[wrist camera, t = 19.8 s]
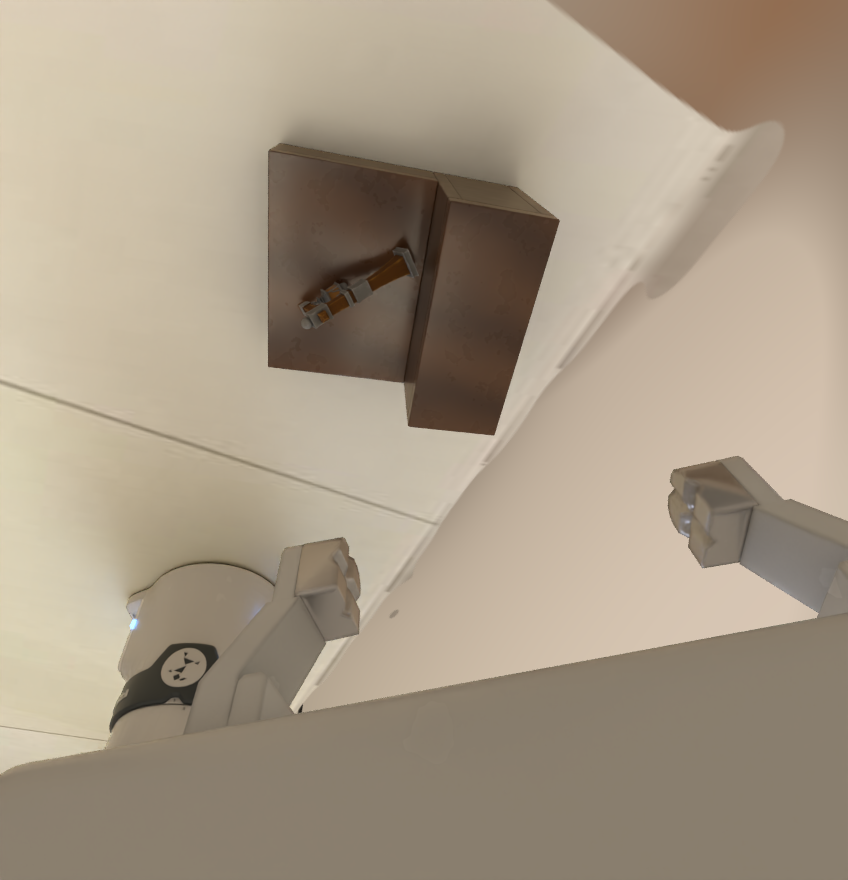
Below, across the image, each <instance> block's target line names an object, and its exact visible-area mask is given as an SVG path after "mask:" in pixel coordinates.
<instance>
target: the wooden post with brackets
mask: <svg viewBox="0 0 848 880" xmlns="http://www.w3.org/2000/svg"><path fill="white" fill-rule="evenodd" d="M392 251H393V253H394V257H393V258H392V259H391V260H390V261H389V262H387V263H386V264H385V265H384V266H382V267H381V268H380V269H379V270H377V271H376V272H375V273H374V274H372V275H371V276H369V277H368V278H366V279H362V278H361V279H360V280H359V281H358V282H356V283H355V284H353V285H351V286H349V287H348V285H347V284H346V283H341V284H340V285H339V284H338V283H336V282H334V284H333V285H332V286H331V287H329V288H328V289H326V290H323V289H320V290H321V297H320V299H319V298H318V297H316V298H317V302H311V303H310V302H308V301H302V302H301V303H299V304H297V305H298V307H299V309H300V311H301V312H302V313H303V314H304V316H306V318H303V319H302V321H301V326H302V327H303V328H304V329H310V328H311V327H314V328H316V329H317V328H318V327H319V326H321V325H322V324H324V323H326V322H327V321H329V320H331V319H334V317H333V315H335V314H337V313H338V312H340V311H342V310H343V309H345V308H347V307H351V308H352V307H353V306H355V304H354V303H356V302H357V303H360V302H361V301H362V300H364V299H365V298H367V297H368V296H370V295H373V291H375V290H377V289H378V288H380V287H382V286H384V285H386V284H388V283H390V282H392V281H394V280H396V279H398V278H400V277H403V276H408V277H412V278H414V277H416V276H419V274H418V272H417V269H416V267H415V265H414V262H413V260H412V257H411V255H410V253H409V250H408V249H404V248H399V247H396V249H395V250H392ZM322 302H323V303H322ZM325 302H326V303H325ZM312 303H314V305H311V304H312ZM318 304H319V305H318Z"/></svg>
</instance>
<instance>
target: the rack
mask: <svg viewBox="0 0 848 880" xmlns="http://www.w3.org/2000/svg"><path fill="white" fill-rule="evenodd" d="M559 222H560V221H559V219H557V218H556V217H555V216H554V215H553V214H551V213H550V212H549V211H547V210H546V209H545V208H543V207H542V206H541V205H540V204H538V203H537V202H536V201H534V200H533V199H532V198H531V197H529V196H528V195H527V194H525V193H524V192H523V191H521V190H520V189H519V188H518V187H513V186H506V185H502V184H496V183H491V182H486V181H480V180H475V179H470V178H464V177H459V176H454V175H448V174H445V175H444V174H443V173H437V172H432V171H427V170H421V169H416V168H410V167H405V166H400V165H394V164H389V163H384V162H378V161H373V160H367V159H362V158H357V157H351V156H346V155H341V154H335V153H330V152H325V151H319V150H314V149H308V148H303V147H298V146H292V145H287V144H282V143H280V144H278V145H276V146H275V147H273V148H272V149H270V150H269V151H268V367H274V368H282V369H291V370H299V371H308V372H316V373H325V374H333V375H342V376H350V377H359V378H367V379H376V380H384V381H393V382H401V383H404V388H405V399H406V410H407V421H408V426H409V427H418V428H427V429H437V430H447V431H456V432H466V433H475V434H485V435H495V431H496V428H497V425H498V422H499V418H500V415H501V412H502V408H503V405H504V402H505V399H506V395H507V392H508V389H509V386H510V382H511V379H512V376H513V372H514V369H515V366H516V363H517V359H518V356H519V353H520V349H521V346H522V343H523V340H524V336H525V333H526V330H527V327H528V323H529V320H530V317H531V313H532V310H533V307H534V304H535V300H536V297H537V294H538V290H539V287H540V284H541V281H542V277H543V274H544V271H545V268H546V264H547V261H548V258H549V254H550V251H551V248H552V245H553V241H554V238H555V235H556V231H557V228H558V225H559ZM396 247H399V248H404V249H408V250H409V253H410V255H411V257H412V260H413V262H414V265H415V267H416V269H417V272H418V274H419V276H416V277H414V278H412V277H408V276H403V277H400V278H398V279H396V280H394V281H392V282H390V283H388V284H386V285H384V286H382V287H380V288H378V289H377V290H375V291H373V295H370V296H368V297H367V298H365V299H364V300H362V301H361V302H360V303H357V302H356V303H354V304H355V306H353V307H352V308H351V307H347V308H345V309H343V310H342V311H340V312H338V313H337V314H335V315H333V317H334V319H331V320H329V321H327V322H326V323H324V324H322V325H321V326H319V327H318V328H317V329H316V328H314V327H311V328H310V329H304V328H303V327H302V326H301V321H302V319H303V318H306V316H304V314H303V313H302V312H301V311H300V309H299V307H298V305H297V304H299V303H301V302H302V301H308V302H310V303H311V302H317V298H316V297H318V298H319V299H320V297H321V290H320V289H323V290H326V289H328V288H329V287H331V286H332V285H333V284H334V282H336V283H338V284H339V285H340V284H341V283H346V284H347V285H348V287H349V286H351V285H353V284H355V283H356V282H358V281H359V280H360V279H361V278H362V279H366V278H368V277H369V276H371V275H372V274H374V273H375V272H376V271H377V270H379V269H380V268H381V267H382V266H384V265H385V264H386V263H387V262H389V261H390V260H391V259H392V258H393V257H394V253H393V251H392V250H395V249H396ZM322 303H323V302H322ZM325 303H326V302H325ZM311 305H314V303H312V304H311ZM318 305H319V304H318Z"/></svg>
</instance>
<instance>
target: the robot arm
mask: <svg viewBox="0 0 848 880" xmlns="http://www.w3.org/2000/svg"><path fill="white" fill-rule="evenodd" d="M670 483H671V484H672V486H673V487H674V490H673V491H672V492H671V494H670V495H669V496H668V509H669V514H670V518H671V520H672V522H673V524H674V526H675V528H676V529H677V531H678V532H679V533H680V534H682V535H684V536H686V537H688V538H689V544H688V547H689V549H690V550H691V552H692V553H693V555H694V556H695V558H696V559H697V561H698V562H699V564H700V565H701V567H702V568H707V567H714V566H719V565H726V564H732V563H738V562H740V564H741V565H742V566H744V567H745V568H747V569H749V570H750V571H752V572H754V573H755V574H757V575H758V576H760V577H761V578H763V579H765V580H766V581H768V582H770V583H771V584H773V585H774V586H776V587H777V588H779V589H781V590H782V591H784V592H786V593H787V594H789V595H790V596H792V597H794V598H795V599H797V600H798V601H800V602H802V603H803V604H805V605H806V606H808V607H810V608H811V609H813V610H814V611H816V612H818V613H819V614H818V616H817V618H815V619H810V620H804V621H798V622H793V623H787V624H782V625H777V626H771V627H766V628H760V629H755V630H749V631H745V632H738V633H733V634H728V635H723V636H717V637H711V638H707V639H701V640H695V641H690V642H685V643H679V644H674V645H668V646H663V647H658V648H652V649H647V650H642V651H636V652H630V653H625V654H620V655H615V656H609V657H604V658H598V659H593V660H587V661H582V662H576V663H571V664H565V665H560V666H555V667H549V668H544V669H538V670H533V671H527V672H522V673H516V674H511V675H505V676H500V677H495V678H489V679H484V680H478V681H473V682H467V683H462V684H456V685H451V686H445V687H440V688H435V689H429V690H423V691H418V692H413V693H407V694H402V695H396V696H391V697H385V698H380V699H375V700H369V701H364V702H358V703H353V704H347V705H342V706H336V707H331V708H326V709H321V710H315V711H309V712H305V713H302V708H303V704H302V705H301V707H300V708H299V709H298V714H294V713H293V711H292V710H291V708H290V707H289V706H290V705H291V703H292V701H293V699H294V698H295V696H296V694H297V693H298V691H299V689H300V687H301V686H302V684H303V682H304V680H305V679H306V677H307V675H308V674H309V672H310V670H311V668H312V667H313V665H314V663H315V662H316V660H317V658H318V656H319V655H320V653H321V651H322V650H323V648H324V646H325V644H326V641H330V640H335V639H339V638H344V637H348V636H353V635H357V634H359V619H360V610H359V608H358V606H357V603H356V601H357V599H358V598H359V597H360V578H359V572H358V568H357V565H356V562H355V560H354V559H353V558H352V557H350V556H349V546H348V544H347V542H346V540H345V538H343V537H341V538H335V539H330V540H324V541H318V542H313V543H307V544H304V545H298V546H293V547H287V548H285V549H284V550H283V552H282V554H281V559H280V564H279V569H278V574H277V579H276V584H275V587H274V586H273V585H272V584H271V583H270V582H268V581H267V580H265V579H264V578H262V577H261V576H259V575H257V574H255V573H253V572H251V571H248V570H245V569H242V568H239V567H235V566H230V565H225V564H214V563H203V564H193V565H187V566H183V567H180V568H177V569H174V570H172V571H170V572H168V573H166V574H165V575H163V576H162V577H161V578H159V579H158V580H157V581H156V582H155V584H154V585H153V586H152V587H150V588H149V589H147V590H144V591H142V592H139V593H136V594H134V595H132V596H131V597H130V598H129V600H128V603H127V606H126V608H127V611H128V612H129V614H130V616H131V617H132V619H133V620H132V623H131V625H130V627H131V630H130V633H129V636H128V638H127V641H126V644H125V647H124V649H123V652H122V655H121V658H120V661H119V664H118V670H119V671H120V672H121V675H122V678H123V679H124V680H125V681H126V684H125V686H124V688H123V691H122V693H121V695H120V697H119V699H118V700H117V702H116V705H115V707H114V710H113V716H112V719H111V722H110V733H111V735H110V737H109V740H108V742H107V745H106V747H105V749H103V750H98V751H92V752H87V753H81V754H76V755H70V756H65V757H59V758H53V759H47V760H40V761H34V762H30V763H26V764H21V765H18V766H15V767H13V768H10V769H8V770H6V771H5V772H3V773H2V774H0V880H848V521H846V520H843V519H840V518H838V517H835V516H833V515H830V514H828V513H825V512H822V511H820V510H817V509H815V508H812V507H810V506H807V505H804V504H802V503H799V502H796V501H794V500H792V499H789V500H783V499H782V498H781V497H780V496H779V495H778V494H777V492H776V491H775V490H774V489H773V488H772V487H771V486H770V485H769V484H768V483H767V482H766V481H765V480H764V479H763V478H762V477H761V476H760V475H759V474H758V473H757V472H756V471H755V470H754V469H753V468H752V467H751V466H750V465H749V464H748V463H747V462H746V461H745V460H744V459H743V458H741V457H739V456H735V457H730V458H725V459H721V460H716V461H712V462H707V463H703V464H698V465H693V466H688V467H684V468H679V469H674V470H673V472H672V473H671V477H670Z"/></svg>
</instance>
